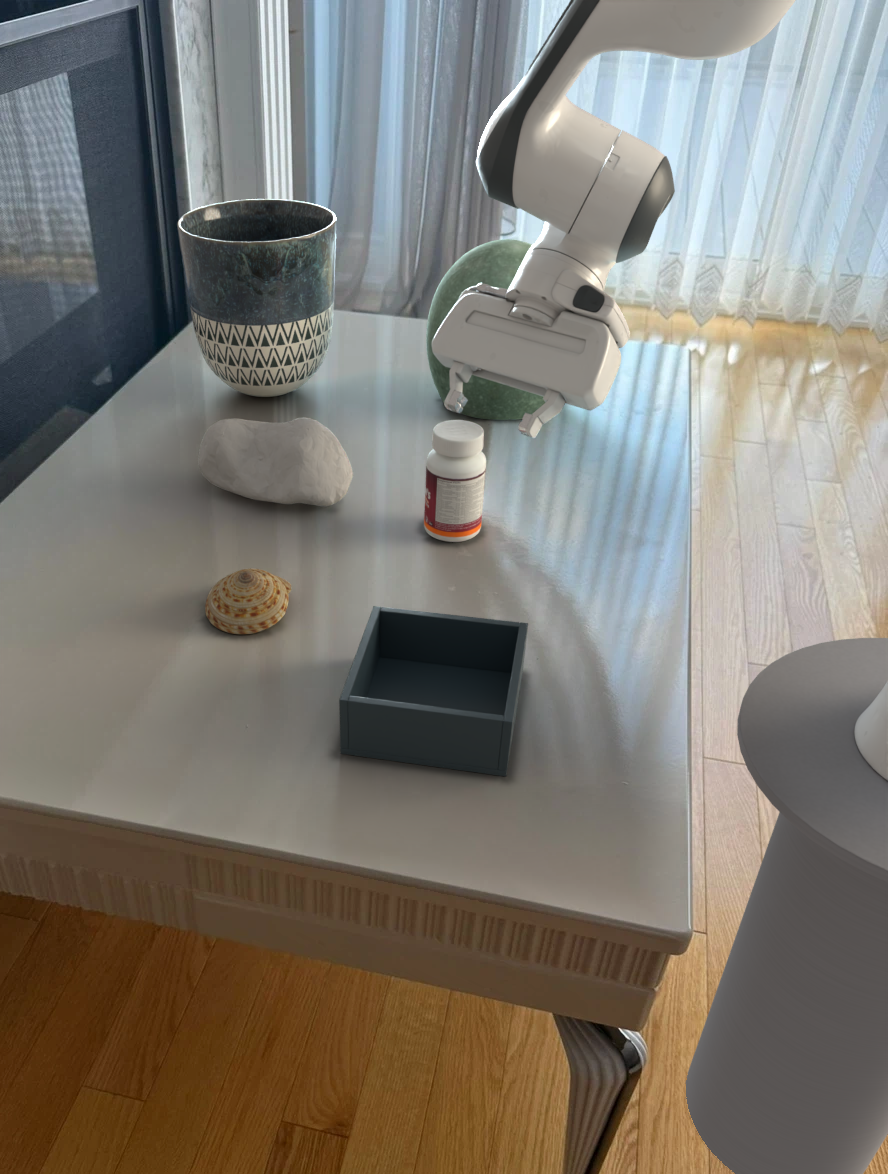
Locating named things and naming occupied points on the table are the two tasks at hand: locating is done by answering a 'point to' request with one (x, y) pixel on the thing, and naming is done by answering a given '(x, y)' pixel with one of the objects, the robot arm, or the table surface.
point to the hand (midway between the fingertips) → (487, 421)
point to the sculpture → (477, 266)
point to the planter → (261, 290)
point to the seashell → (247, 601)
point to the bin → (434, 690)
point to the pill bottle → (455, 481)
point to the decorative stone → (276, 461)
